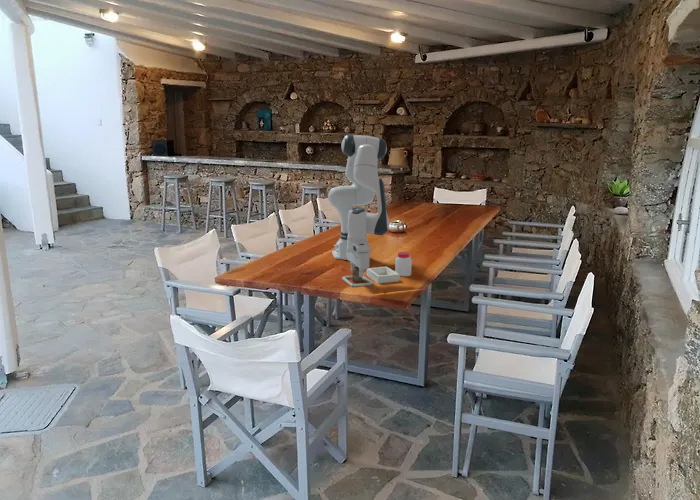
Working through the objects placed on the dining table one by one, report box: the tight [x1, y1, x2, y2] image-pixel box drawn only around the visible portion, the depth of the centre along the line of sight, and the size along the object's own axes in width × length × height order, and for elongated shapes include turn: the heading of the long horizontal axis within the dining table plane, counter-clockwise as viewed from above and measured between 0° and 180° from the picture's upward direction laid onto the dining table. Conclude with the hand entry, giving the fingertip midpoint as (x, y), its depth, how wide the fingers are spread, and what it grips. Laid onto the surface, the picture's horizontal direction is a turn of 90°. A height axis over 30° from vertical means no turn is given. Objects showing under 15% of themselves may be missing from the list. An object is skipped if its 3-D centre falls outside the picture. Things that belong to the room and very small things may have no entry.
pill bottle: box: [394, 251, 413, 277], centre depth 254 cm, size 8×8×11 cm
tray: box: [341, 275, 374, 288], centre depth 244 cm, size 14×10×2 cm
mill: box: [351, 266, 363, 284], centre depth 243 cm, size 4×4×6 cm
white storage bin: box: [365, 266, 400, 284], centre depth 248 cm, size 14×10×4 cm
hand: (357, 273), depth 243 cm, fingers open, 8 cm apart
